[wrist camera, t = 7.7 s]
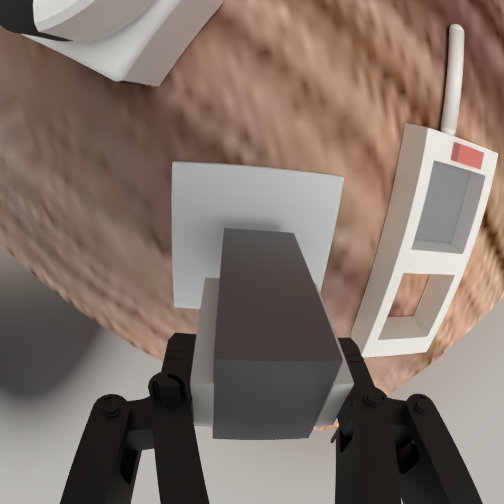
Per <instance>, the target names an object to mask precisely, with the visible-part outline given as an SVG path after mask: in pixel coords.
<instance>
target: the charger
mask: <svg viewBox="0 0 504 504" xmlns="http://www.w3.org/2000/svg"><path fill="white" fill-rule="evenodd" d="M342 362H343V358H342V356H341V353H340V350H339V347H338V345H337V342H336V339H335V336H334V334H333V331H332V328H331V326H330V323H329V320H328V318H327V315H326V313H325V310H324V307H323V305H322V302H321V300H320V297H319V294H318V292H317V289H316V287H315V284H314V282H313V279H312V277H311V274H310V272H309V269H308V267H307V264H306V262H305V259H304V257H303V254H302V252H301V249H300V247H299V245H298V242H297V240H296V237H295V235H294V233H288V232H275V231H261V230H247V229H233V228H224V234H223V245H222V256H221V268H220V280H219V292H218V305H217V318H216V332H215V346H214V367H213V382H214V414H213V439H237V440H239V439H240V440H275V439H299V438H309V436H310V434H311V432H312V430H313V428H314V426H315V422H316V420H317V418H318V416H319V414H320V411H321V409H322V407H323V405H324V403H325V400H326V398H327V396H328V394H329V391H330V389H331V387H332V384H333V383H334V381H335V379H336V377H337V374H338V372H339V369H340V367H341V364H342Z"/></svg>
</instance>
